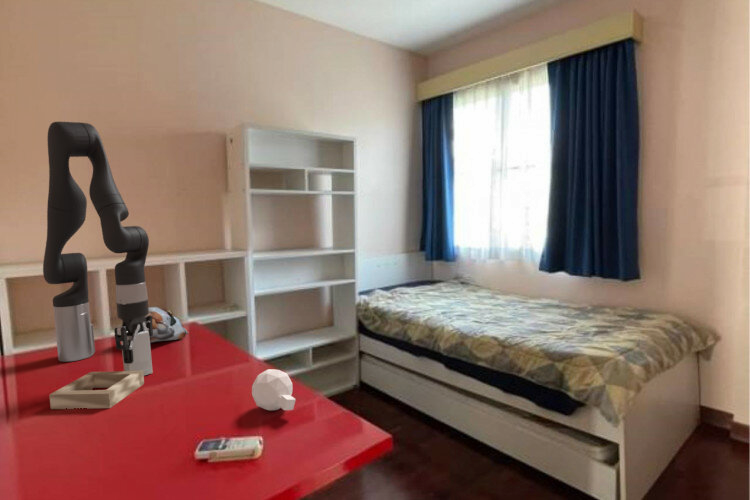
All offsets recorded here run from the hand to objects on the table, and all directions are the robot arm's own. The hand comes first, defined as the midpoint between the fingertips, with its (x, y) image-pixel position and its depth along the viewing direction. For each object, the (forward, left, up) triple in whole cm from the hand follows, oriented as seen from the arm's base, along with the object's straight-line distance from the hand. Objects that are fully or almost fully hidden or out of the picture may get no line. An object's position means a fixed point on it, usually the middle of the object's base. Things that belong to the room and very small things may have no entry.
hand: (137, 358), depth 118 cm
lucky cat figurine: (-33, -11, -5) cm, 35 cm away
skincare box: (0, 0, -5) cm, 5 cm away
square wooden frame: (+13, -2, -5) cm, 14 cm away
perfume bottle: (+23, +44, -5) cm, 50 cm away
